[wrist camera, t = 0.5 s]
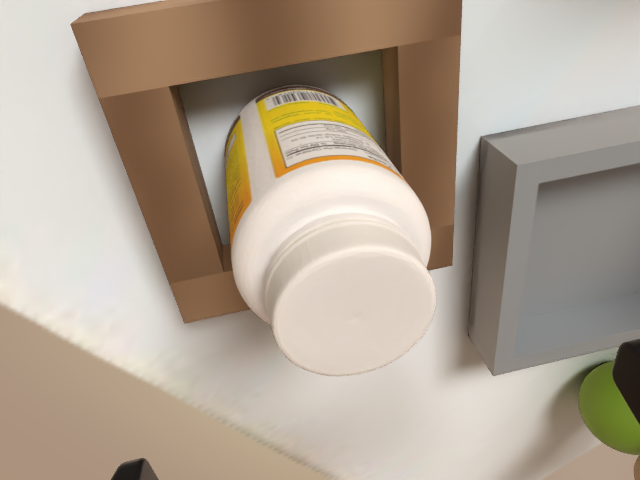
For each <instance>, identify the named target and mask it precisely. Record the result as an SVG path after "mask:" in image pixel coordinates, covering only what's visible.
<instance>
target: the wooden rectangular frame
mask: <svg viewBox="0 0 640 480" xmlns="http://www.w3.org/2000/svg"><path fill="white" fill-rule="evenodd" d="M461 18H462V0H165V1H159V2H153V3H146V4H140V5H134V6H128V7H122V8H115V9H109V10H103V11H97V12H90V13H85V14H83V15H82V16H81V17H79V18H78V19H77V20H75V21H74V22H73V23H71V24H70V25H71V27H72V30H73V33H74V35H75V38H76V40H77V43H78V46H79V48H80V51H81V54H82V56H83V59H84V61H85V64H86V67H87V69H88V72H89V74H90V77H91V80H92V82H93V85H94V88H95V90H96V93H97V95H98V98H99V101H100V103H101V106H102V108H103V111H104V114H105V116H106V119H107V122H108V124H109V127H110V129H111V132H112V135H113V137H114V140H115V143H116V145H117V148H118V150H119V153H120V156H121V158H122V161H123V163H124V166H125V169H126V171H127V174H128V177H129V179H130V182H131V184H132V187H133V190H134V192H135V195H136V198H137V200H138V203H139V205H140V208H141V211H142V213H143V216H144V218H145V221H146V224H147V226H148V229H149V232H150V234H151V237H152V239H153V242H154V245H155V247H156V250H157V253H158V255H159V258H160V260H161V263H162V266H163V268H164V271H165V273H166V276H167V279H168V281H169V284H170V287H171V289H172V292H173V294H174V297H175V300H176V302H177V305H178V307H179V310H180V313H181V315H182V318H183V321H184V323H189V322H193V321H198V320H202V319H207V318H212V317H216V316H221V315H225V314H230V313H235V312H239V311H244V310H249V309H251V308H250V307H249V306H248V305H247V304H246V302H245V301H244V299H243V298H242V296H241V294H240V292H239V290H238V288H237V285H236V283H235V279H234V275H233V269H232V261H231V246H230V244H228V245H223V244H222V241H221V237H220V234H219V231H218V227H217V224H216V220H215V217H214V213H213V210H212V206H211V203H210V199H209V196H208V192H207V189H206V185H205V182H204V178H203V175H202V171H201V168H200V164H199V161H198V157H197V154H196V150H195V147H194V143H193V140H192V136H191V133H190V129H189V126H188V122H187V119H186V115H185V112H184V108H183V105H182V101H181V98H180V94H179V91H178V87H177V85H179V84H184V83H190V82H196V81H201V80H207V79H213V78H219V77H224V76H230V75H236V74H241V73H247V72H253V71H258V70H264V69H270V68H275V67H281V66H287V65H293V64H298V63H304V62H310V61H315V60H321V59H327V58H332V57H338V56H344V55H350V54H355V53H361V52H367V51H372V50H378V49H381V50H382V70H383V90H384V111H385V131H386V151H387V157H388V158H389V160H390V161H391V162H392V164H393V165H394V166H395V168H396V169H397V170H398V172H399V173H400V174H401V175H402V177H403V178H404V179H405V181H406V182H407V183H408V184H409V186H410V187H411V188H412V190H413V191H414V192H415V194H416V195H417V197H418V199H419V200H420V202H421V204H422V205H423V207H424V209H425V212H426V214H427V217H428V221H429V225H430V230H431V251H430V257H429V261H428V264H427V267H426V268H427V270H428V271H429V270H433V269H438V268H443V267H447V266H452V258H453V232H454V205H455V178H456V152H457V125H458V98H459V72H460V45H461Z"/></svg>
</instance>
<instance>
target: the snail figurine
mask: <svg viewBox="0 0 640 480" xmlns="http://www.w3.org/2000/svg"><path fill="white" fill-rule="evenodd" d="M614 362H615V361H611V362H607V363H604V364H602V365H600V366H598V367H596V368H595V369H593V370H592V371H591V372H590V373H589V374H588V375H587V376H586V377H585V379H584V380H583V382H582V384H581V387H580V390H579V397H578V402H579V409H580V413H581V416H582V418H583V420H584V422H585V424H586V426H587V427H588V429H589V430H590V431H591V432H592V433H593V434H594V436H595V437H597V438H598V439H599V440H600V441H601V442H603V443H604V444H606V445H607V446H609V447H611V448H613V449H615V450H617V451H620V452H623V453H627V454H632V455H639V457H638V458H637V460H636V462H635V465H634V478H635V480H640V425H639V424H638V422H637V420H636V419H635V417H634V415H633V414H632V412H631V410H630V408H629V407H628V405H627V403H626V402H625V400H624V398H623V397H622V395H621V393H620V391H619V390H618V388H617V386H616V385H615V383H614V380H613V377H612V369H613V365H614Z"/></svg>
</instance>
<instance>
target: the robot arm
mask: <svg viewBox="0 0 640 480" xmlns="http://www.w3.org/2000/svg"><path fill="white" fill-rule="evenodd" d="M612 377H613V380H614V383H615V385H616V386H617V388H618V390H619V391H620V393H621V395H622V397H623V398H624V400H625V402H626V403H627V405H628V407H629V408H630V410H631V412H632V414H633V415H634V417H635V419H636V420H637V422H638V424H639V425H640V339H636V340H632V341H628V342H624V343H622V344H621V345H620V347H619V349H618V352H617V355H616V359H615V362H614V365H613V369H612ZM111 480H158V478H157V476H156V474H155V473H154V471H153V470H152V467H151V466H150V464H149V462H148V461H147V460H146V459H144V458H140V459H135V460H132V461H127V462H124V463H122V464H121V465H120V466H119V467H118V469H117V470H116V472H115V474H114V475H113V477H112V479H111Z"/></svg>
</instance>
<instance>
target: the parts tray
mask: <svg viewBox="0 0 640 480" xmlns="http://www.w3.org/2000/svg"><path fill="white" fill-rule="evenodd" d="M468 336H469V338H470V339H471V341H472V343H473V344H474V346H475V348H476V349H477V351H478V352H479V354H480V356H481V357H482V359H483V361H484V362H485V364H486V365H487V367H488V369H489V370H490V372H491V374H492V375H493V376H496V375H500V374H504V373H508V372H512V371H517V370H521V369H525V368H529V367H533V366H538V365H542V364H546V363H550V362H554V361H559V360H563V359H567V358H571V357H575V356H580V355H584V354H588V353H592V352H596V351H601V350H605V349H609V348H613V347H618V346H620V345H621V344H622V343H624V342H628V341H632V340H636V339H640V106H635V107H629V108H624V109H619V110H614V111H609V112H604V113H599V114H593V115H588V116H583V117H578V118H573V119H568V120H563V121H557V122H552V123H547V124H542V125H537V126H532V127H527V128H521V129H516V130H511V131H506V132H501V133H496V134H491V135H485V136H481V150H480V165H479V180H478V194H477V209H476V224H475V239H474V254H473V269H472V284H471V299H470V313H469V328H468Z"/></svg>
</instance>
